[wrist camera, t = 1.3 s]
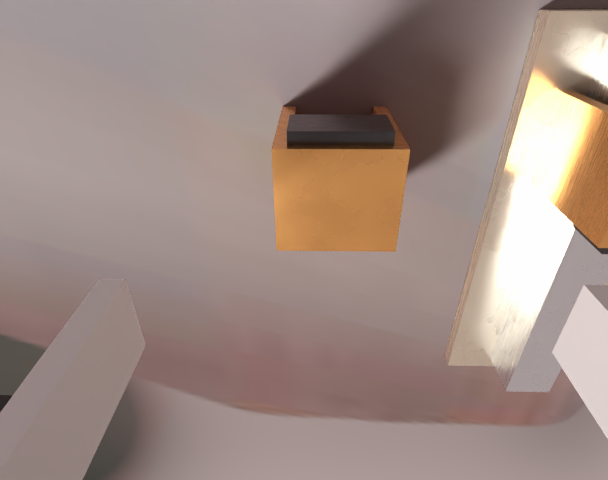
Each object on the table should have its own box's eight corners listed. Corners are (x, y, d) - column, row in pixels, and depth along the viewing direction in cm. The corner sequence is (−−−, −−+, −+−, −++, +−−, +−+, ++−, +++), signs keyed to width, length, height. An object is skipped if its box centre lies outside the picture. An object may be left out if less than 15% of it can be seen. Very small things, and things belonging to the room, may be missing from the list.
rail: (539, 9, 19) (650, 24, 13) (734, 8, 19) (947, 23, 12) (444, 355, 32) (475, 447, 26) (558, 357, 32) (618, 450, 25)
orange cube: (282, 94, 21) (270, 134, 16) (387, 94, 21) (412, 134, 16) (285, 189, 24) (276, 250, 19) (377, 190, 24) (395, 251, 19)
